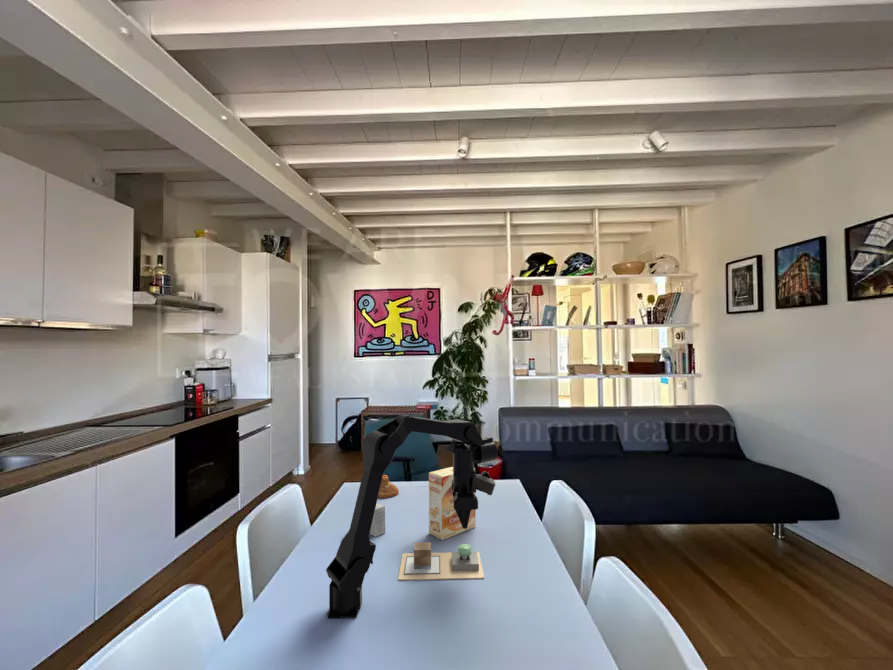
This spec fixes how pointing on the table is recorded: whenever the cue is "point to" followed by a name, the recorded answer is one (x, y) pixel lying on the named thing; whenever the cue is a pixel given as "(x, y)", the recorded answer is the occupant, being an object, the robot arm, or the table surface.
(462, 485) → the robot arm
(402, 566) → the tan rectangular board
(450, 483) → the coffeecake box
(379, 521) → the medicine box
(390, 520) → the table surface
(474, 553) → the button housing
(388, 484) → the bell
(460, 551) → the button
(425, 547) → the block
